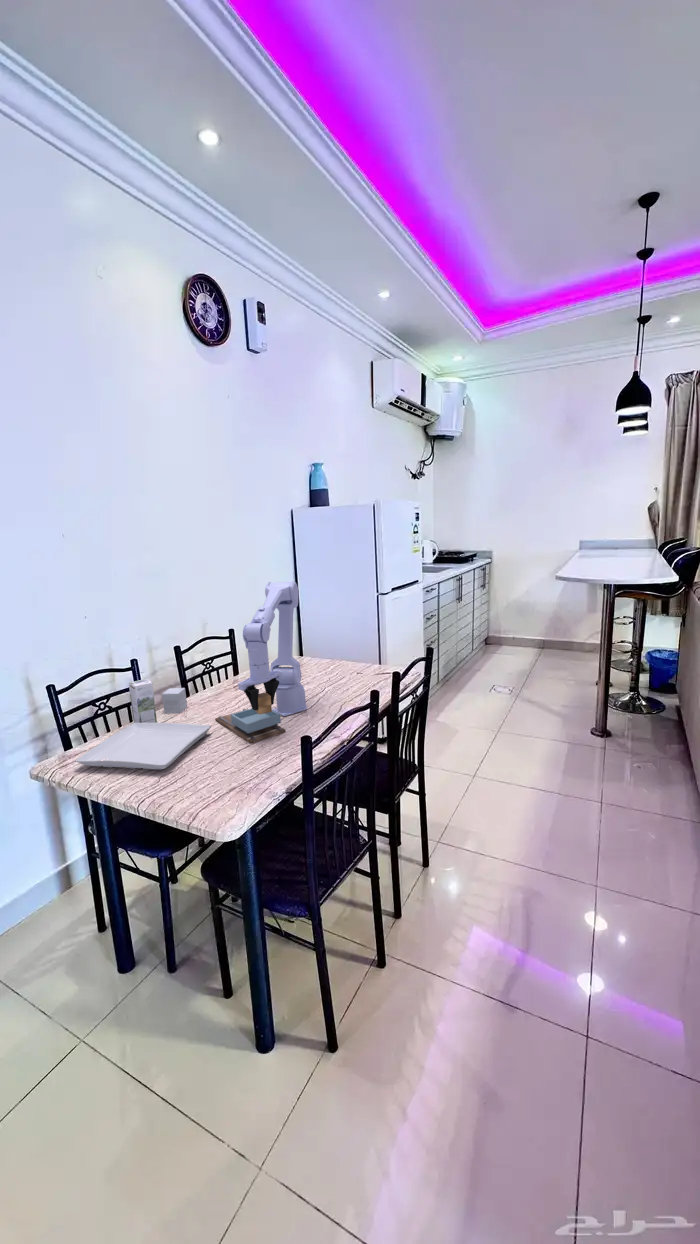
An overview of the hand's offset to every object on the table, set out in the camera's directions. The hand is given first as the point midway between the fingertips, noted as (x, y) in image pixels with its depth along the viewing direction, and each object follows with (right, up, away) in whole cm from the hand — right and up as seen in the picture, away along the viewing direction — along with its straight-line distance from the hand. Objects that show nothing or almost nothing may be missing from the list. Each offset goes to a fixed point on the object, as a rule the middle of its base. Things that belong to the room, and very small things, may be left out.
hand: (262, 706), depth 152 cm
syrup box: (-42, -9, +17) cm, 46 cm away
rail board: (-6, -8, +10) cm, 14 cm away
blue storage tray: (-3, -7, +6) cm, 10 cm away
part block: (0, -1, 0) cm, 1 cm away
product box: (-36, -6, +28) cm, 46 cm away
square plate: (-32, -13, -5) cm, 35 cm away
